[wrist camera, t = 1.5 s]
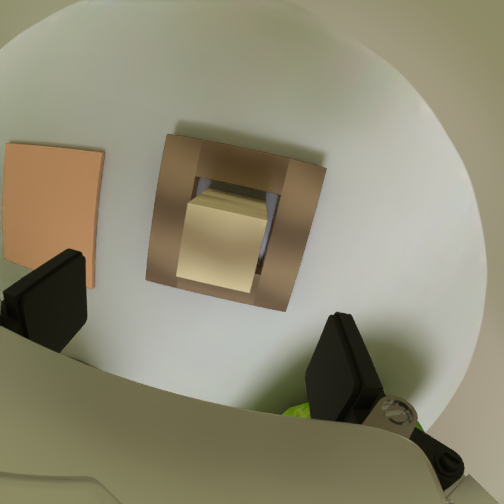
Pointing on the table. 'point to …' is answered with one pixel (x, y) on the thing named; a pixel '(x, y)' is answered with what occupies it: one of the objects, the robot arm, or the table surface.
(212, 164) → the pocket block
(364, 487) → the robot arm
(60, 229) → the pad
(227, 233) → the maple block
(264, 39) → the table surface
